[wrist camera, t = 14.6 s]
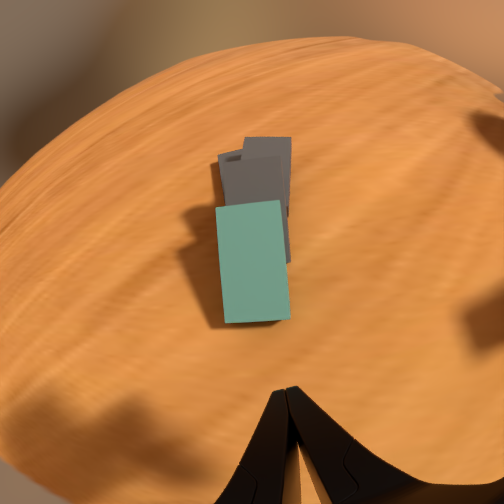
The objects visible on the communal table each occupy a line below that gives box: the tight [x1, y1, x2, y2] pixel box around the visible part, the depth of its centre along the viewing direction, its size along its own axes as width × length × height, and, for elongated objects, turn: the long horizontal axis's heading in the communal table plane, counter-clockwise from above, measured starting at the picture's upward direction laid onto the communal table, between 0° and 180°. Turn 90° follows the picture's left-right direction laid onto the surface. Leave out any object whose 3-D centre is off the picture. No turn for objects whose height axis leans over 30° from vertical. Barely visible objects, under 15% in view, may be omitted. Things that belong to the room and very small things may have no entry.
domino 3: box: [241, 137, 292, 217], centre depth 28 cm, size 2×5×9 cm
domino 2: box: [223, 156, 291, 263], centre depth 24 cm, size 2×5×9 cm
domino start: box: [216, 200, 291, 323], centre depth 22 cm, size 2×5×9 cm
